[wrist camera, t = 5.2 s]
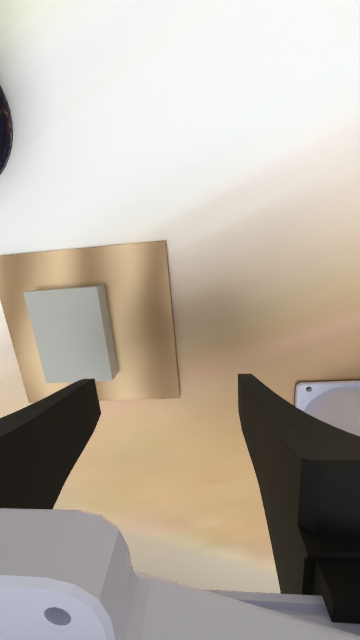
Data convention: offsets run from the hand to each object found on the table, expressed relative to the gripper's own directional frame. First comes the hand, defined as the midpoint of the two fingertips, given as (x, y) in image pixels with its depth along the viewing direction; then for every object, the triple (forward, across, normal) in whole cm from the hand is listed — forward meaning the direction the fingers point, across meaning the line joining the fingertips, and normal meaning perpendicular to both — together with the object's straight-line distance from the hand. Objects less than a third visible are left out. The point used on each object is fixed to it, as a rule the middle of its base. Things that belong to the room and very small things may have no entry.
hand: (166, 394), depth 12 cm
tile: (+8, +6, -1) cm, 10 cm away
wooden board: (+10, +8, -1) cm, 13 cm away
